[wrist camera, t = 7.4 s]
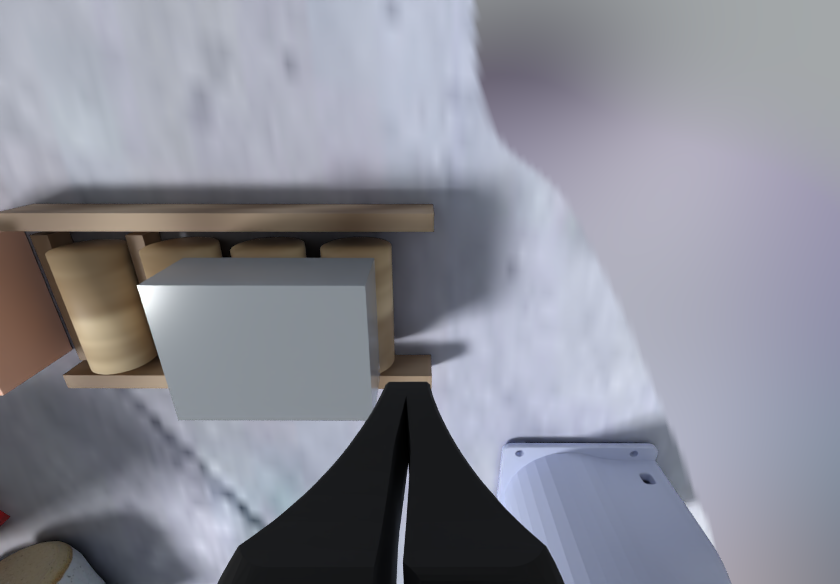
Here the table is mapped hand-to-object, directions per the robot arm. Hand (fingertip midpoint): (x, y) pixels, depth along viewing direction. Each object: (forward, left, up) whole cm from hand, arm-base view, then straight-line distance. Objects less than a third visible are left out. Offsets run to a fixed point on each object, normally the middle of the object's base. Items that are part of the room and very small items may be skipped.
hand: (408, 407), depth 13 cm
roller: (+15, 0, -9) cm, 18 cm away
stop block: (+20, 0, -9) cm, 22 cm away
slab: (+6, 0, -6) cm, 8 cm away
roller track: (+9, 0, -9) cm, 12 cm away
